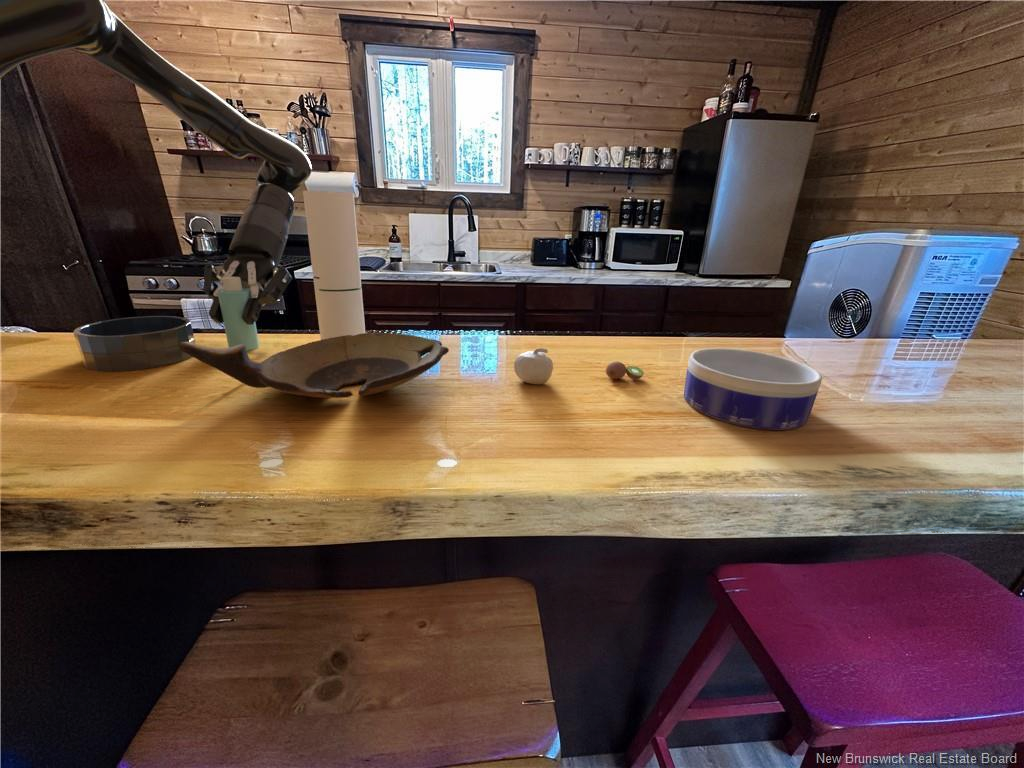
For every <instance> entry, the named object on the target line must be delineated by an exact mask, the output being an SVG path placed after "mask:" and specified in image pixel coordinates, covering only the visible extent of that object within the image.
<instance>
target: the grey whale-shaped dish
mask: <svg viewBox="0 0 1024 768" xmlns="http://www.w3.org/2000/svg"><path fill="white" fill-rule="evenodd" d="M179 348H180V349H181V350H182V351H184V352H185V353H187V354H189V355H191V356H192V357H191V358H194V359H196V360H198V361H199V362H201V363H203V364H206V365H208V366H209V367H211V368H214V369H216V370H218V371H220V372H222V373H224V374H225V375H226V376H229V377H231V378H232V379H234V380H236V381H238V382H239V383H242V384H244V385H245V386H248V387H250V388H256V389H265V388H271V389H273V390H277V391H279V392H283V393H287V394H291V395H296V396H305V397H312V398H320V399H322V398H323V399H344V398H345V399H346V398H350V397H352V396H354V393H353V392H352V391H351V390H339V389H340V388H342V387H345V386H350V385H354V384H355V385H356V384H361V383H363V384H362V387H361V388H359V390H358V395H359V396H361V397H363V396H364V397H365V396H369V395H374V394H377V393H381V392H384V391H387V390H390V389H393V388H396V387H398V386H401V385H403V384H406V383H407V382H410V381H411V380H414V379H415V378H417V377H419V376H420V375H423V374H424V373H426V372H427V371H428V370H430V369H432V368H433V367H434V366H436V365H437V364H439V362H440V361H441V360H442V357H444V356H445V355H446V354H448V353H449V352H450V349H449V348H448V347H447V346H443V343H442V342H441V341H440V340H437V339H433V338H432V339H431V338H427V337H423V336H418V335H412V334H405V333H394V332H393V333H390V332H381V333H377V332H365V333H363V334H358V335H354V336H352V335H346V336H340V337H334V338H329V339H324V340H321V339H319V340H315V341H311V342H307V343H303V344H301V345H297V346H294V347H293V348H292V347H291V348H288V349H285V350H281V351H280V352H276V353H274V354H272V355H270V356H269V357H267V358H265V359H264V360H263V361H260V362H258V361H253V360H252V359H251V358H250V356H249V354H248V351H246V347H245V345H244V344H240V345H237V346H234V347H221V348H220V347H212V346H206V345H202V344H198V343H196V344H195V343H191V342H181V343H180V344H179Z"/></svg>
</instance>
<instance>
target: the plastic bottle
mask: <svg viewBox="0 0 1024 768" xmlns="http://www.w3.org/2000/svg"><path fill="white" fill-rule="evenodd" d="M222 279H223V284H224V289H222V290H218V291H217V292H218V297H219V302H220V307H221V312H222V317H223V326H224V333H225V337H226V341H227V346H228V347H227V348H229V347H234V346H237V345H240V344H244V345H245V347H246V351H247V352H248V351H253V350H257V349H259V348H260V341H259V336H258V330H257V324H256V321H254V324H253V325H248V324H246V323H245V322H244V321H243V319H242V314H243V312H244V309H245V306H246V303H247V300H248V299H251V296H250V288H245V289H243V288H242V285H241V279H240V277H223V278H222Z"/></svg>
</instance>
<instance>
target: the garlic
mask: <svg viewBox="0 0 1024 768" xmlns="http://www.w3.org/2000/svg"><path fill="white" fill-rule="evenodd" d="M547 354H548V349H547V348H543V347H540V348H539V347H538V348H536V349H535V350H529V351H526V352H523V353H520V354H519V355H517V356H516V358H515V360H514V363H513V370H514V373H515V375H516V377H517V378H518V379H519V380H521V381H522V382H524V383H526V384H530V385H531V384H532V385H543V384H545V383H547V382H548V381H550V379H551V378H552V374H553V370H554V364H553V361H552V359H551V357H549V356H548V355H547Z"/></svg>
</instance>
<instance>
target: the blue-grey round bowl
mask: <svg viewBox="0 0 1024 768" xmlns="http://www.w3.org/2000/svg"><path fill="white" fill-rule="evenodd" d="M73 336H74V338H75V342H76V345H77V348H78V351H79V355H80V358H81V360H82V363H83V366H84V367H86V368H87V369H88V370H92V371H98V372H127V371H128V372H129V371H139V370H148V369H153V368H160V367H165V366H169V365H173V364H177V363H180V362H184V361H186V360H188V359H190V358H193V357H192V356H191V355H189V354H187V353H185V352H184V351H182V350H181V349H180V348H179V344H180V343H181V342H191V343H195V344H197V342H196V338H195V334H194V330H193V326H192V321H191V319H189V318H187V317H183V316H176V315H148V316H147V315H145V316H130V317H121V318H113V319H107V320H100V321H96V322H92V323H87V324H84V325H82V326H79V327H76V328H75V329H74V330H73Z"/></svg>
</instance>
